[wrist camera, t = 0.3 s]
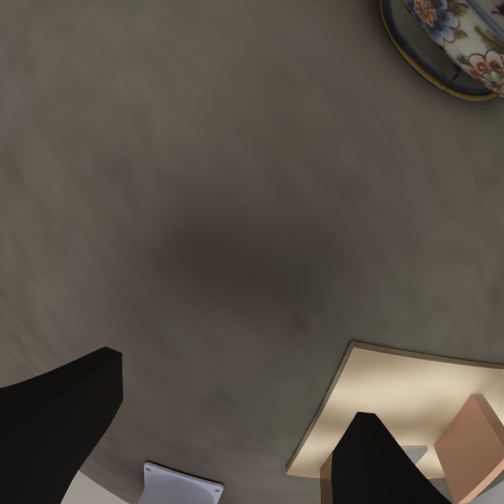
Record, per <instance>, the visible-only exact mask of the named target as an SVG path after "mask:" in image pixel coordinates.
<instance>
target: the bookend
mask: <svg viewBox="0 0 504 504" xmlns="http://www.w3.org/2000/svg"><path fill="white" fill-rule="evenodd" d="M401 448H402V449H403V450H404V452H405V453H406V454H407V455H408V457H409V458H410V459H411V460H412V462H413V463H414V464H415V465H416V463H417V462H418V461H419V460H420V459H421V458H422V457H423V455H424V454H425V453H426V452H427V451H428V447H427V446H401ZM331 466H332V453H331V454H330V455H329V457H328V458H327V460H326V461H325V463H324V464H323V465H322V467H321V468H320V488H321V504H333V496H332V485H331Z"/></svg>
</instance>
